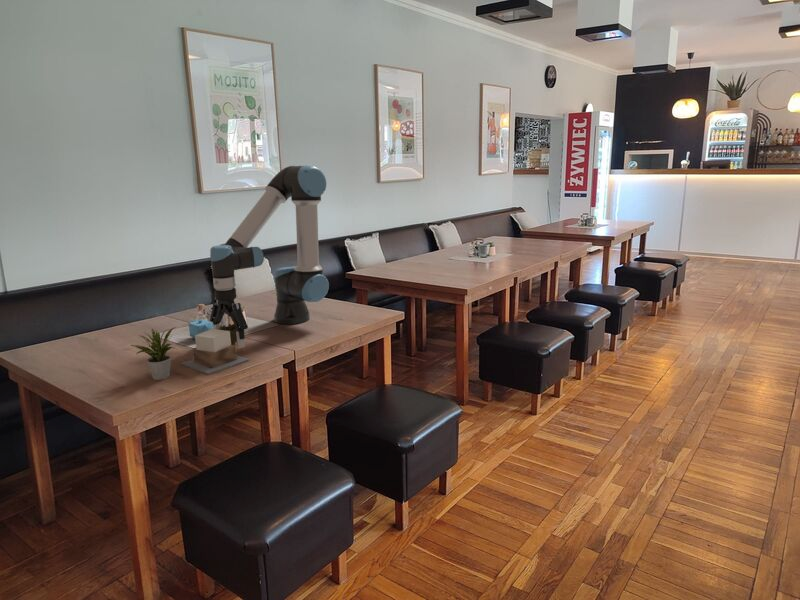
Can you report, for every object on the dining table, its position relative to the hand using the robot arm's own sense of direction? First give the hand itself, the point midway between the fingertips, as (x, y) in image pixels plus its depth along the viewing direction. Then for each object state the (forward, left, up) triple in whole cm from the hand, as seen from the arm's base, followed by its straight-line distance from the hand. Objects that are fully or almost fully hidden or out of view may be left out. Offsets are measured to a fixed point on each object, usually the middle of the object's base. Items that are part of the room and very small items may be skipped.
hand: (230, 344), depth 209 cm
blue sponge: (0, -20, -2) cm, 20 cm away
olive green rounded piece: (0, 0, -2) cm, 2 cm away
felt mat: (+13, +10, -1) cm, 16 cm away
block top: (+13, +10, +4) cm, 17 cm away
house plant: (+30, +6, -2) cm, 31 cm away
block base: (+13, +10, -1) cm, 16 cm away
